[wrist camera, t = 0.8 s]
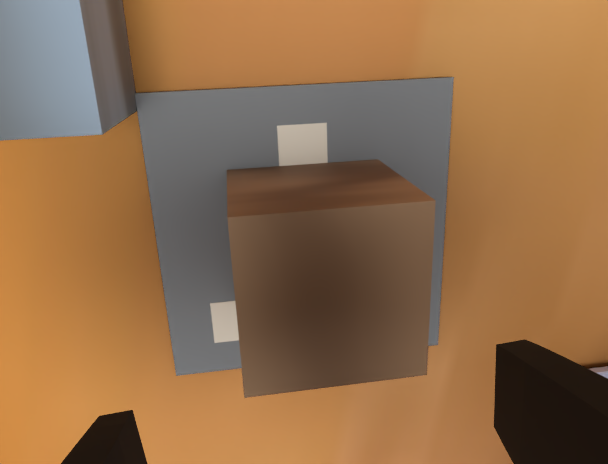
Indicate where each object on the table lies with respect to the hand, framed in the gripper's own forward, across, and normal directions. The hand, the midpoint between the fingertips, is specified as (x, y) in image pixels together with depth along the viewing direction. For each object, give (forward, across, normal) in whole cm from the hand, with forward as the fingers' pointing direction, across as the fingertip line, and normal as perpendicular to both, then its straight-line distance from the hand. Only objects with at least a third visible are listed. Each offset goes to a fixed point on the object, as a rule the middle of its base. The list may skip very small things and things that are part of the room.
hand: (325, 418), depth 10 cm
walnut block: (+8, -1, -1) cm, 8 cm away
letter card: (+8, -1, -1) cm, 9 cm away
